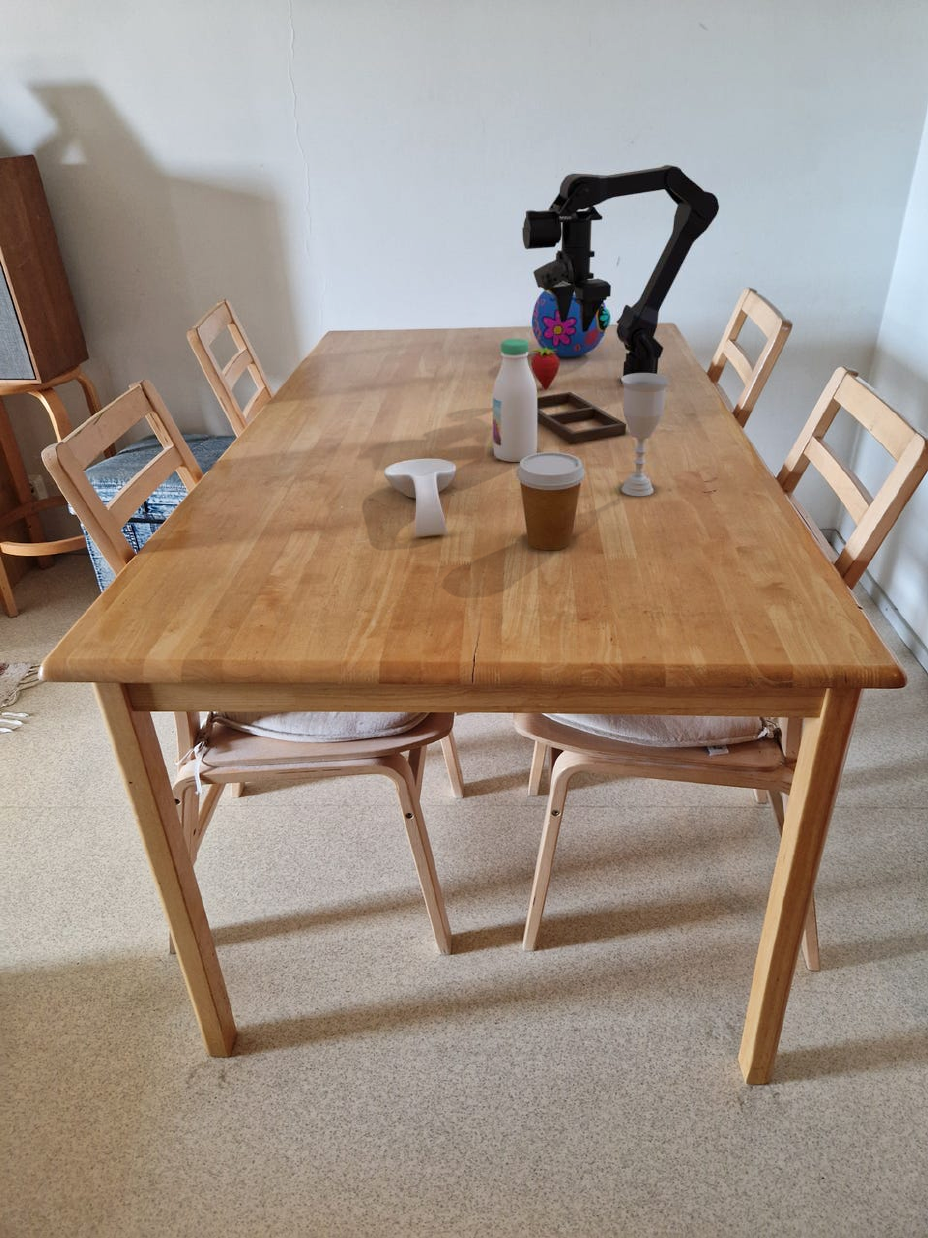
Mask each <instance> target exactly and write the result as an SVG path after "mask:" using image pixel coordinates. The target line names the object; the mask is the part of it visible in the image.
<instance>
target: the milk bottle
mask: <svg viewBox="0 0 928 1238" xmlns="http://www.w3.org/2000/svg"><path fill="white" fill-rule="evenodd" d="M529 346H530V345H529V341H528V340H527V339H523V338H508V339H505V340H502V341H501V343H500V351H501V353H500V355H501V357H502V359H501V360H502V361H501V366H500V369H499V372H498V374H497V376H496V378H495V381H494V385H493V390H492V437H493V438H492V439H493V441H492V442H493V444H492V445H493V454H494V457H495V458H496V459H498V460H500V461H503V462H510V463H520V462H521V460H522V459H523V458H525V457H526V456H529V455H532V454H536V453H538V422H537V409H538V408H537V397H538V391H537V390H538V389H537V383H536V380H535V377H534V375H533V372H532V371H531V368H530V366H529V361H528V355H529V348H530V347H529Z"/></svg>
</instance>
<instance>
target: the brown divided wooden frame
mask: <svg viewBox="0 0 928 1238" xmlns="http://www.w3.org/2000/svg"><path fill="white" fill-rule="evenodd" d="M565 404H569V405H571V406H572V407H574V408H575V409H573V410H568V411H562V412H556V413H550V414H546V413H545V412H544V411H542V410H541V409H542V408H548V407H553V406H559V405H565ZM592 419H594V420H596V421H597V422H599V423H601V424H603V426H597V427H592V428H586V429H581V430H575V431H573V430H572V429H571V428H569V427H567V426H566V425H564V424H570V423H575V422H580V421H581V422H582V421H586V420H592ZM537 423H539V424H540V425H542V426H543V427H545V428H546V429H548V430H549V431H551V432H552V433H553V434H555V435H557V436H558V437H559V438H561V439H563V440H564V441H566V442H567V443H569V444H570V445H576V444H581V443H586V442H590V441H597V440H602V439H607V438H613V437H619V436H623V435H626V433H627V432H626V431H627V423H626V422H624V421H622V420H620V419H618V418H616V417H615V416H613V415H611V414H610V413H608V412H606V411H604V410H603V409H601V408H599V407H598V406H595V405H594V404H592V403H591V402H589V401H587V400H585V399H584V398H581V397H580V396H579V395H576V394H575V393H573V392H571V391H568V392H562V393H556V394H549V395H544V396H543V395H542V396H537Z"/></svg>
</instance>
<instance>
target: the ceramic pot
mask: <svg viewBox="0 0 928 1238" xmlns="http://www.w3.org/2000/svg"><path fill="white" fill-rule="evenodd" d="M574 298H577V297H576V295H575V292H574V294H573V298H572V302H571V306H570V310H569V314H568V317H567V320H566V322H561V321H560V318H559V314H558V310H557V306H556V303H555V299H554V296H553V294H552V293H551V292H549V291H548V290H544V289H543V291H542V292H541V293H540V294H539V296H538V297H537V299H536V302H535V304H534V306H533V311H532V316H531V327H532V332H533V335H534V337H535V340H536V341H537V343H538V345H539V346H540V348H542V350H543V349H545V348H547V349H549V350H556V351H553V352H555V353H553V354H555V355H556V356H557V357H561V358H575V357H579V356H583V355H585V354H588V353H590V352H592V351H593V350H595V349H596V348H597V347H598V345H599V344H600V342H601V341H602V339H603V338H604V336H605V334H606V333H605V332H606V329H607V328H608V327H609V325H610V322H611V313H610V311H609V309H607V307H606V303H605V300H604V301H603V303H602V305H601V306H600V308H599V310H598V311H597V313H596V315H595V317H594V319H593V321H592V323H591V325H590V327H589V329H588V331H587V332H582V328H581V316H580V305H579V304H578V303H577V302H576V301H575V300H574ZM541 341H542V342H543V343H544V344H545V345H546V346H545V345H544V344H543V343H542V342H541Z"/></svg>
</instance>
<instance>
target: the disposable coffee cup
mask: <svg viewBox="0 0 928 1238" xmlns="http://www.w3.org/2000/svg"><path fill="white" fill-rule="evenodd" d="M585 475H586V470H585V468H584V467H583V462H582V460H581V459H580V458H579V457H577V456H575V455H573V454H569V453H567V452H560V451H559V452H558V451H543V452H537V453H536V454H532V455H529V456H526V457H525V458H523V459H522V460H521V461H520V462H519V465H518V468H517V469H516V476H517V479H518V481H519V483H520V492H521V500H522V508H523V514H524V522H525V530H526V536H527V543H528V544H529V546H531V547H533V548H535V549H537V550H541V551H542V550H543V551H558V550H562V549H565V548H567V547H569V546H570V545H571V543H572V538H573V532H574V527H575V521H576V514H577V507H578V502H579V497H580V489H581V485H582V481H583V479H584V477H585Z"/></svg>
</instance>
